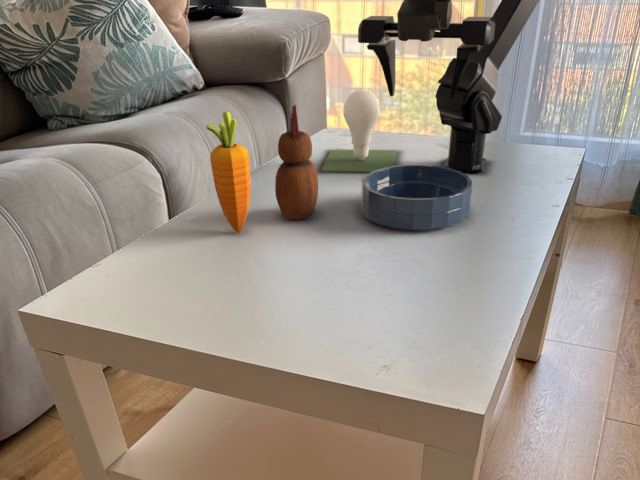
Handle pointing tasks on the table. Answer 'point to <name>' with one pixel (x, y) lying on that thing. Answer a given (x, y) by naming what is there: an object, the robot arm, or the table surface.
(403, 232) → the table surface
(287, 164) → the wooden figurine
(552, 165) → the table surface
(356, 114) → the lightbulb
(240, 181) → the carrot
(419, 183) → the bowl
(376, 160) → the napkin
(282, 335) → the table surface
